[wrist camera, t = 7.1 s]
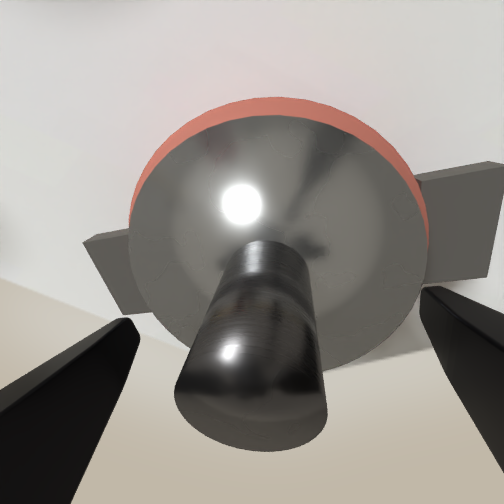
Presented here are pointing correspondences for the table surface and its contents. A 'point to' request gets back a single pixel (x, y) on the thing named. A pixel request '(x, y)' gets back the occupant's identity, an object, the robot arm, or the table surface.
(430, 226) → the pot
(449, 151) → the table surface
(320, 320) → the lid
